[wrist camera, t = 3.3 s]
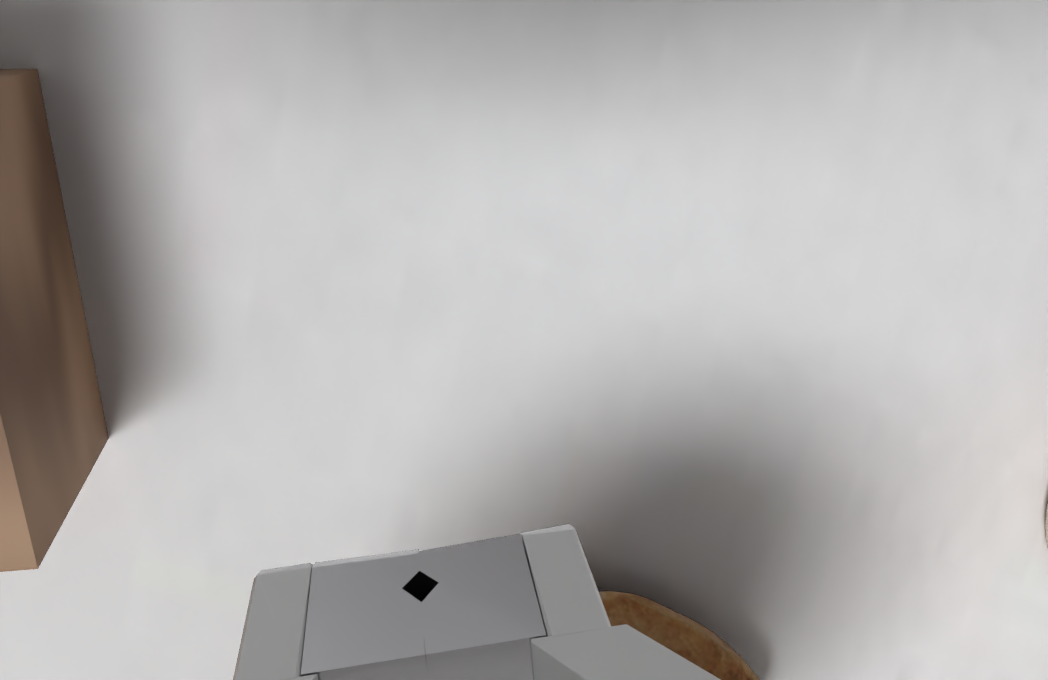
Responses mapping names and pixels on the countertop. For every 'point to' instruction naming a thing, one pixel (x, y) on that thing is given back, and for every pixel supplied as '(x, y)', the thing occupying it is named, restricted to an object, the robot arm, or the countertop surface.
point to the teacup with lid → (1047, 525)
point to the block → (39, 338)
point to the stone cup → (676, 634)
